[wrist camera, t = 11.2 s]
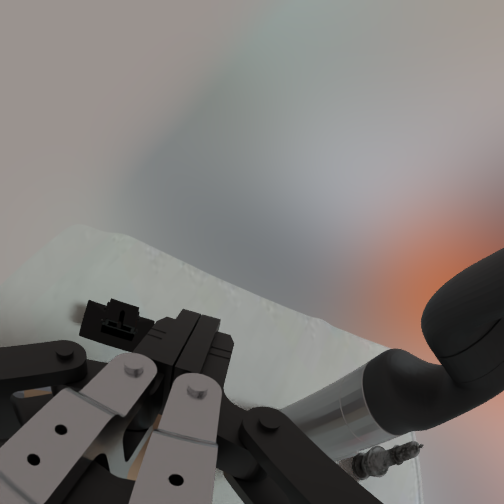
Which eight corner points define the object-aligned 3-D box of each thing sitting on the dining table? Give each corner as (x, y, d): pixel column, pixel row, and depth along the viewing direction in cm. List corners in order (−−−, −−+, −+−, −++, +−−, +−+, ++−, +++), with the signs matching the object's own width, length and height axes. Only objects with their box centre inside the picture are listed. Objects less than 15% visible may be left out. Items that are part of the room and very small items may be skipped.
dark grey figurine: (354, 446, 37) (414, 422, 31) (375, 457, 37) (432, 435, 30) (347, 475, 32) (412, 456, 26) (369, 484, 32) (431, 466, 26)
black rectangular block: (65, 338, 28) (65, 321, 25) (80, 292, 33) (83, 271, 31) (159, 367, 33) (170, 353, 30) (164, 319, 38) (174, 302, 36)
